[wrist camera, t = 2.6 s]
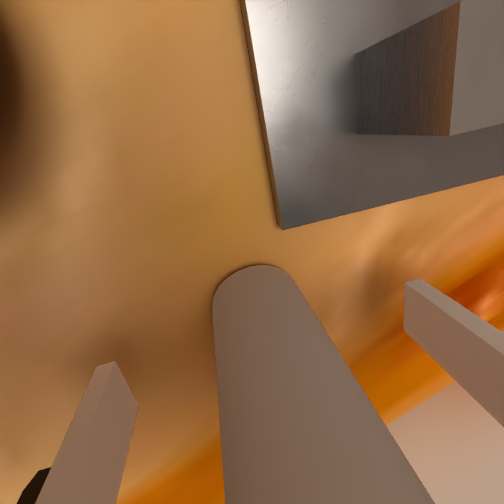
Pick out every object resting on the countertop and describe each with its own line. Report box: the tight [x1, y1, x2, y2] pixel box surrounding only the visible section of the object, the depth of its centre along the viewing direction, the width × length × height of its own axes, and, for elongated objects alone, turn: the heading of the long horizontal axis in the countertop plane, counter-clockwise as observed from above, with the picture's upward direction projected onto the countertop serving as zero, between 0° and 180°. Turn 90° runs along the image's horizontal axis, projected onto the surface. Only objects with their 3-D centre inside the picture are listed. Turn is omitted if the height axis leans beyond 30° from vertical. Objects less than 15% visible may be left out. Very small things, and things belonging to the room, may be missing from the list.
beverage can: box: [212, 265, 435, 504], centre depth 11 cm, size 5×5×12 cm
